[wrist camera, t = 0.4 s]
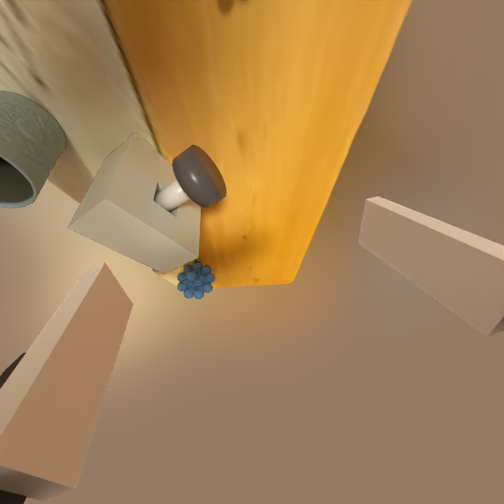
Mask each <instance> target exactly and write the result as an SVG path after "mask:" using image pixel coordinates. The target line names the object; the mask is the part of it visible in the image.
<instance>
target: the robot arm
mask: <svg viewBox="0 0 504 504" xmlns="http://www.w3.org/2000/svg"><path fill="white" fill-rule="evenodd" d="M358 243H359V244H360V245H361V246H363V247H364V248H365V249H367V250H368V251H369V252H371V253H372V254H374V255H375V256H376V257H378V258H379V259H381V260H382V261H383V262H385V263H386V264H387V265H389V266H390V267H392V268H393V269H394V270H396V271H397V272H399V273H400V274H402V275H403V276H404V277H405V278H407V279H408V280H410V281H411V282H412V283H414V284H415V285H417V286H418V287H420V288H421V289H422V290H423V291H425V292H426V293H428V294H429V295H430V296H432V297H433V298H434V299H436V300H437V301H439V302H440V303H441V304H443V305H444V306H446V307H447V308H448V309H450V310H451V311H452V312H454V313H455V314H457V315H458V316H460V317H461V318H462V319H464V320H465V321H466V322H468V323H469V324H470V325H472V326H473V327H475V328H476V329H478V330H479V331H480V332H482V333H483V334H485V335H486V336H490V335H492V334H495V333H498V332H500V331H503V330H504V246H503V245H500V244H497V243H495V242H492V241H490V240H487V239H485V238H482V237H480V236H477V235H475V234H472V233H470V232H467V231H465V230H462V229H460V228H457V227H455V226H452V225H449V224H447V223H444V222H442V221H439V220H437V219H434V218H432V217H429V216H427V215H424V214H422V213H419V212H417V211H414V210H411V209H409V208H407V207H404V206H402V205H399V204H397V203H394V202H391V201H389V200H386V199H384V198H381V197H379V196H378V197H374V198H370V199H366V201H365V207H364V213H363V218H362V224H361V230H360V236H359V241H358ZM132 306H133V303H132V302H131V301H130V299H129V298H128V296H127V294H126V293H125V291H124V290H123V288H122V287H121V285H120V284H119V282H118V281H117V280H116V278H115V276H114V275H113V273H112V272H111V270H110V269H109V267H108V266H107V264H106V263H101V264H97V265H92V266H88V267H87V268H86V269H85V270H84V272H83V273H82V275H81V276H80V277H79V279H78V280H77V282H76V283H75V285H74V286H73V287H72V289H71V290H70V292H69V293H68V294H67V296H66V297H65V299H64V300H63V302H62V303H61V304H60V306H59V307H58V309H57V310H56V311H55V313H54V314H53V316H52V317H51V318H50V320H49V321H48V323H47V324H46V325H45V327H44V328H43V330H42V331H41V333H40V334H39V335H38V337H37V338H36V340H35V341H34V342H33V344H32V345H31V347H30V348H29V350H28V351H27V352H26V353H23V354H22V355H21V356H20V357H19V358H18V359H16V360H15V361H14V362H13V363H12V364H11V365H10V366H9V367H8V368H7V369H6V370H5V371H4V372H3V373H2V375H1V376H0V504H23V503H24V501H25V499H26V497H28V498H33V499H37V500H42V501H45V500H48V499H50V498H53V497H55V496H59V495H61V494H64V493H66V492H69V491H72V490H75V489H76V487H77V484H78V480H79V477H80V474H81V471H82V468H83V464H84V461H85V458H86V454H87V451H88V448H89V445H90V442H91V439H92V435H93V432H94V429H95V426H96V422H97V419H98V416H99V412H100V410H101V406H102V403H103V400H104V397H105V393H106V390H107V387H108V384H109V381H110V377H111V374H112V371H113V368H114V364H115V361H116V358H117V355H118V352H119V348H120V345H121V342H122V339H123V335H124V332H125V329H126V326H127V323H128V319H129V316H130V313H131V310H132Z"/></svg>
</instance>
